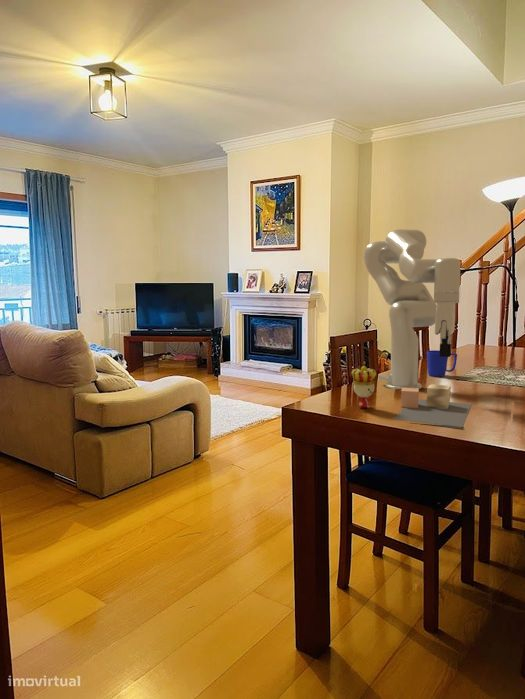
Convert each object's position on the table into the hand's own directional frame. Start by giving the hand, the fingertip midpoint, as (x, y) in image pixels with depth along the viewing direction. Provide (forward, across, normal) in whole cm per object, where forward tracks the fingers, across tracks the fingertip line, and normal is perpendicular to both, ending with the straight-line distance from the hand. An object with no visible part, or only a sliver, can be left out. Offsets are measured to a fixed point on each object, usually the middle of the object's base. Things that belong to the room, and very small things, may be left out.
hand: (445, 356), depth 162 cm
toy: (+15, +20, -21) cm, 33 cm away
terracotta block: (+14, +11, -9) cm, 20 cm away
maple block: (+14, +8, -1) cm, 17 cm away
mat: (+15, +15, -1) cm, 22 cm away
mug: (+14, -49, -8) cm, 51 cm away
